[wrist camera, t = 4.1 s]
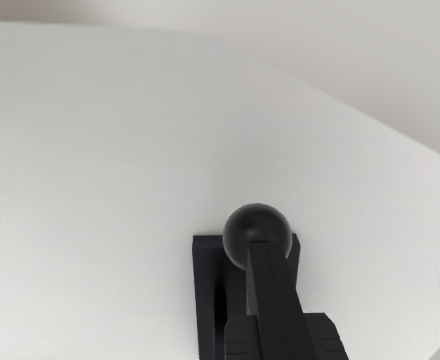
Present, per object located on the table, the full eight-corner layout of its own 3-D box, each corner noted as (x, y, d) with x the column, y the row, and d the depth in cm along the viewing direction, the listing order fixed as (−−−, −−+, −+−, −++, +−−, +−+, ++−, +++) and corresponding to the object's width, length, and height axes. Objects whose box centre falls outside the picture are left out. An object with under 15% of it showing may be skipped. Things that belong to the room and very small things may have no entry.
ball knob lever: (221, 197, 18) (222, 214, 14) (284, 196, 18) (301, 212, 14) (225, 426, 20) (227, 489, 17) (281, 425, 20) (294, 487, 17)
